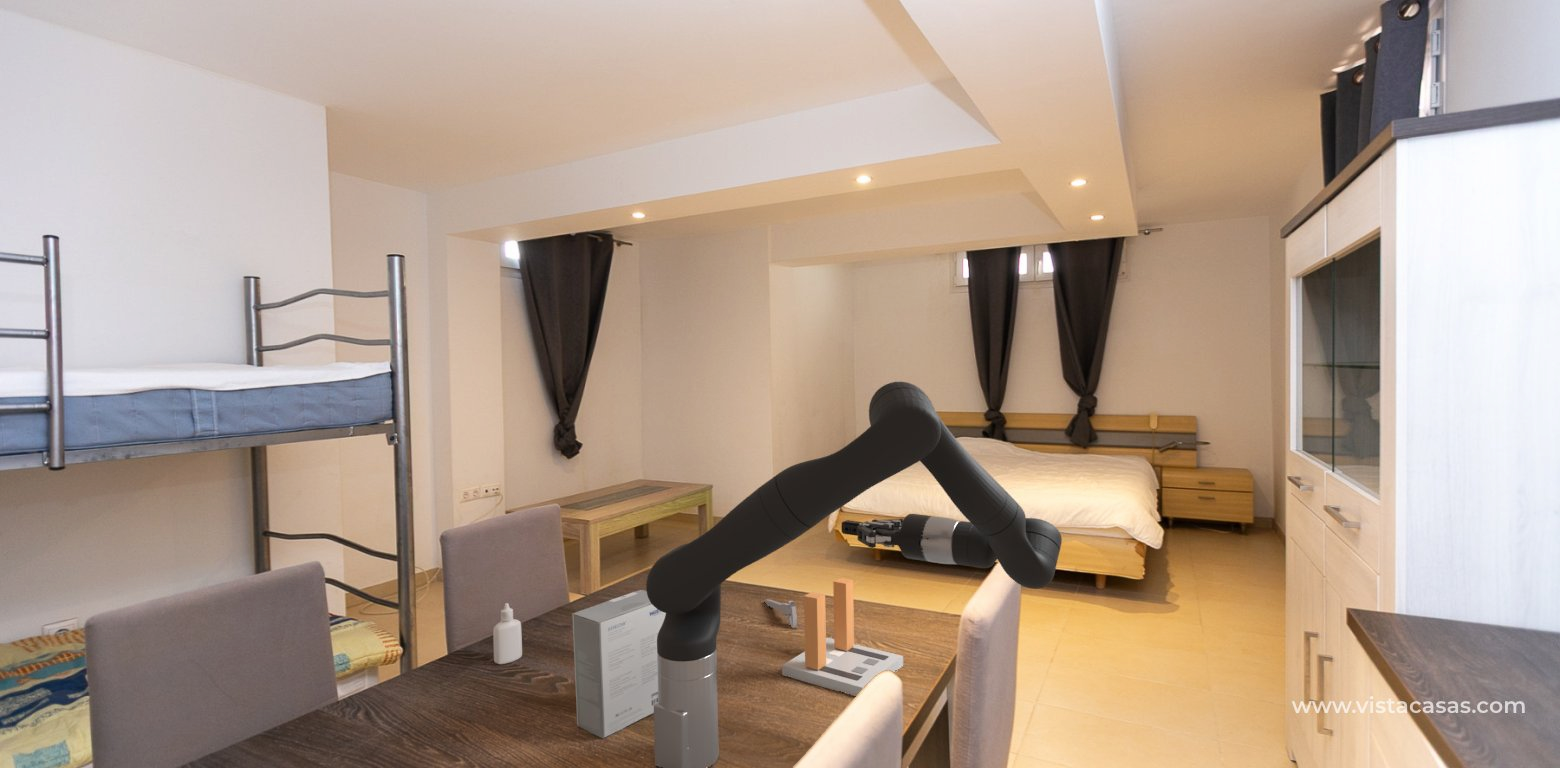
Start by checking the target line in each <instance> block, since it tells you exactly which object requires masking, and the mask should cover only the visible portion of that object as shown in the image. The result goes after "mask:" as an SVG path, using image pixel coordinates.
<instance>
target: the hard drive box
mask: <svg viewBox="0 0 1560 768" xmlns="http://www.w3.org/2000/svg"><path fill="white" fill-rule="evenodd" d="M665 615H666V613H664V612H662V611H660V610H658V609H657V608H655V607H654V606H653V605H652V604H651V602H650V600H649V598H648V596H647V591H646V590H644V589H638V590H635V591H632V592H630V593H627V594H624V595H621V596H619V597H616V598H612V599H610V600H606V601H603V602H601V603H599V604H596V605H593V606H591V607H588V608H584V609H581V610H578V611H576V612H574V613H573V612H572V633H573V635H572V636H573V637H572V639H573V658H574V662H573V663H574V680H575V681H574V682H575V697H576V700H575V701H576V703H575V705H576V724H577V727H579V728H581V729H583V730H585V731H586V732H589V733H590V734H592V735H595V736H596V737H598V738H600V739H604V738H606V737H609V736H610V735H612V734H615V733H617V732H619V731H621V730H623V729H625V728H627V727H628V726H630V725H633V724H635V723H636V722H638V721H641V720H642V719H644V718H646V717H648V716H650V715H654V705H655V704H656V703H658V665H657V636H658V633H659V630H660V628H661V626H662V624H663V621H664V619H665Z"/></svg>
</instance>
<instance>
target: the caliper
mask: <svg viewBox="0 0 1560 768" xmlns="http://www.w3.org/2000/svg"><path fill="white" fill-rule="evenodd" d="M787 601H788V603H786V602H779V601H776V600H773V599H770V598H768V599H765V600H764V601H763V603H764V602H765V603H766V604H767V605H768V606H767V605H766V604H765V603H764V604H765V605H766V606H767V607H769V606H770V608H772V609H775V610H778V611H780V612H782V616H787V619H788V625H792V627H791V628H792V629H797V627H798V622H797V621H798V615H797V607H796V605H795V601H794V600H787Z"/></svg>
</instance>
